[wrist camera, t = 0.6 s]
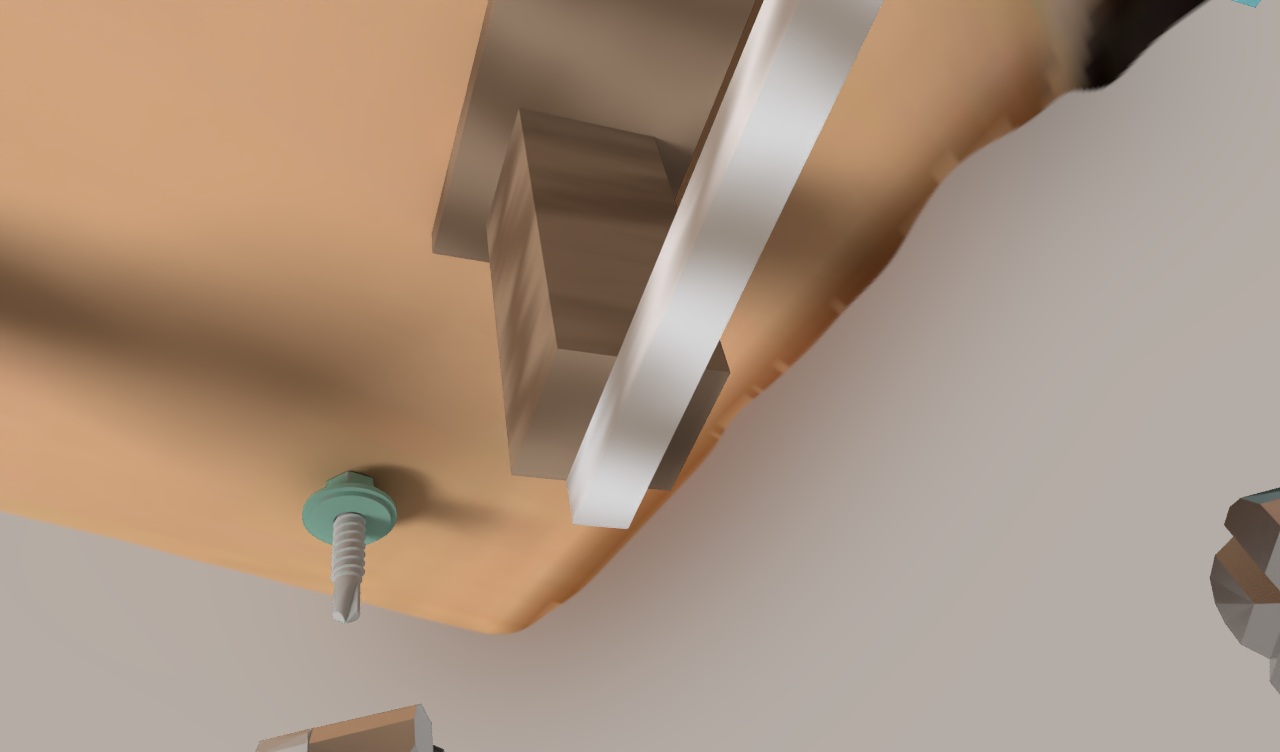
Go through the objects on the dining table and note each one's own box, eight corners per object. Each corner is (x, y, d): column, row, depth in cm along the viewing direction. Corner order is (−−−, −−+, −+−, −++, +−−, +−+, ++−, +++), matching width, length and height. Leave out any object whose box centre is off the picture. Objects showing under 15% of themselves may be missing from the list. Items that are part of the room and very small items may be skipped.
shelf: (632, -589, 32) (801, -537, 19) (923, -460, 35) (1241, -338, 22) (431, 233, 50) (444, 552, 37) (634, 267, 54) (712, 571, 40)
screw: (285, 480, 60) (361, 444, 59) (341, 527, 63) (414, 493, 62) (272, 618, 54) (357, 580, 53) (334, 662, 57) (416, 626, 56)
